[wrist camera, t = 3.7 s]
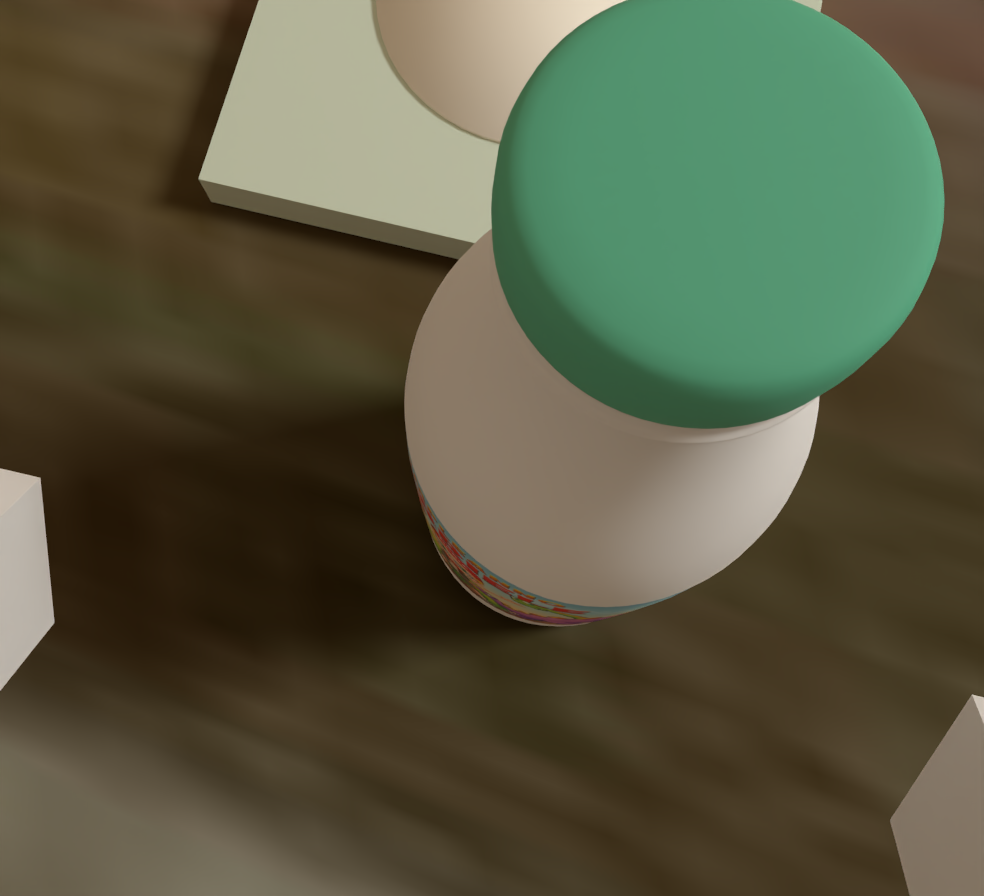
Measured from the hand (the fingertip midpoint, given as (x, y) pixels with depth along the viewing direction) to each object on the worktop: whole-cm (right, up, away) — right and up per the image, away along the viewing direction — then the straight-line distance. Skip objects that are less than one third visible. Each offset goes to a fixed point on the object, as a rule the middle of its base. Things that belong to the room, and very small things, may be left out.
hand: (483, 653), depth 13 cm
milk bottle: (+2, +1, +16) cm, 16 cm away
